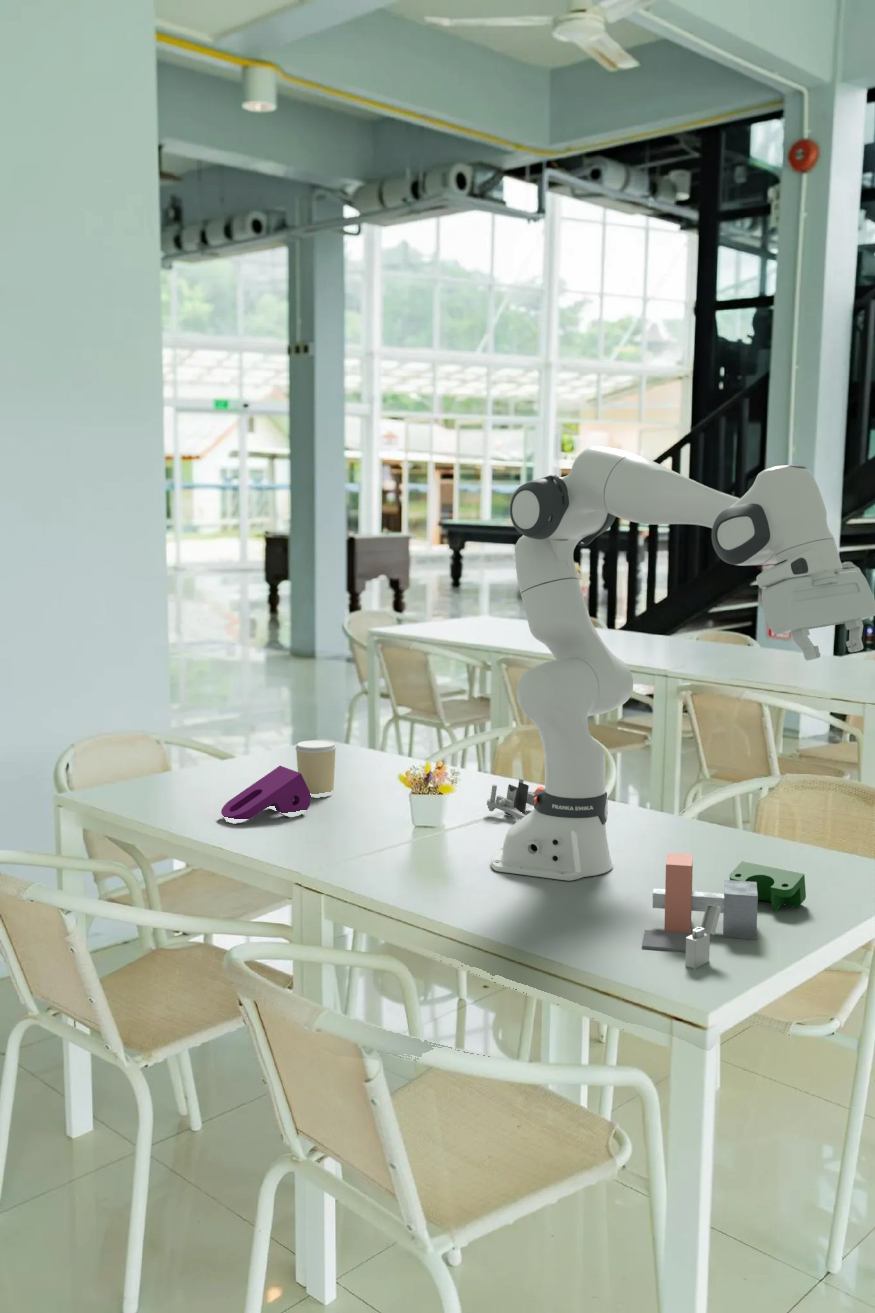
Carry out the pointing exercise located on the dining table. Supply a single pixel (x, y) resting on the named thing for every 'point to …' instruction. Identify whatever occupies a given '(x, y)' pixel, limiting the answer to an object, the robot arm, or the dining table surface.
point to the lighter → (702, 938)
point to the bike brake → (512, 800)
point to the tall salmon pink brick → (678, 892)
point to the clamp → (773, 883)
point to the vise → (726, 907)
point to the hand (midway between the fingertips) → (835, 655)
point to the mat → (665, 940)
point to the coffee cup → (317, 764)
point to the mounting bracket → (270, 795)
